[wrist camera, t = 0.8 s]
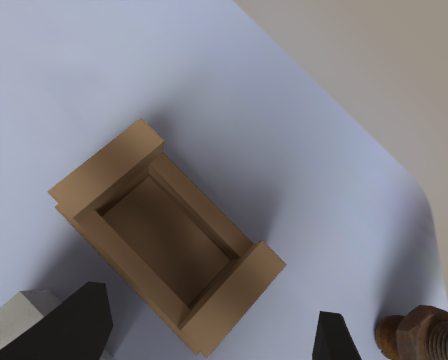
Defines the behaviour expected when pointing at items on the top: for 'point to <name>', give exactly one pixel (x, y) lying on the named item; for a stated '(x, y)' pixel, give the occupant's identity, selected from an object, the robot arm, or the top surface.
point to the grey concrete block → (28, 314)
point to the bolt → (414, 335)
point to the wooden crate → (166, 238)
